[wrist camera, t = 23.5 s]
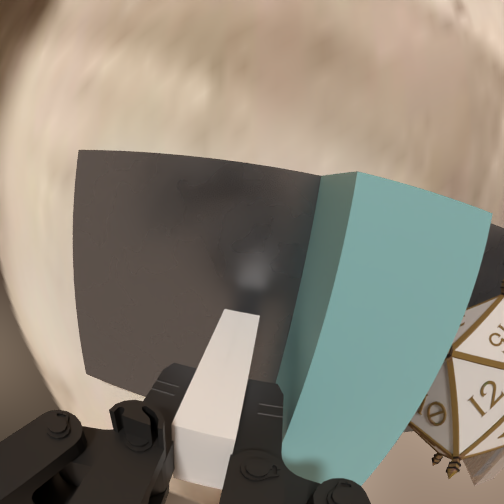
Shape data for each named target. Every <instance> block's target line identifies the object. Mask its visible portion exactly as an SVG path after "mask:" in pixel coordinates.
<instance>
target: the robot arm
mask: <svg viewBox="0 0 504 504" xmlns="http://www.w3.org/2000/svg"><path fill="white" fill-rule="evenodd" d="M259 318H260V316H259V315H253V314H248V313H243V312H238V311H233V310H228V309H224V311H223V313H222V316H221V318H220V320H219V322H218V324H217V326H216V329H215V331H214V333H213V335H212V337H211V339H210V342H209V344H208V346H207V348H206V350H205V353H204V355H203V357H202V359H201V361H200V363H199V366H198V368H193V367H189V366H185V365H181V364H177V363H173V364H171V365H169V366H168V367H166V368H165V369H163V370H162V372H161V374H160V375H159V377H158V378H157V381H156V382H155V383H154V385H153V386H152V389H151V390H150V391H149V393H148V394H147V396H146V398H145V399H144V401H138V400H128V401H123V402H120V403H117V404H115V405H114V406H113V407H112V408H111V409H110V410H109V411H110V416H111V420H112V425H113V430H102V429H96V428H90V427H84V426H82V425H81V422H80V421H79V420H78V419H77V417H76V416H75V415H73V414H71V413H69V412H67V411H62V410H52V411H49V412H46V413H44V414H42V415H41V416H39V417H38V418H36V419H35V420H33V421H32V422H30V423H29V424H27V425H26V426H24V427H23V428H21V429H20V430H18V431H16V432H15V433H13V434H12V435H10V436H9V437H7V438H6V439H4V440H3V441H1V442H0V504H165V501H166V498H167V496H168V493H169V482H170V479H171V476H172V474H174V478H177V479H180V480H184V481H188V482H191V483H195V484H199V485H203V486H208V487H212V488H217V489H222V493H221V498H220V502H219V504H371V503H370V501H369V499H368V497H367V494H366V492H365V491H364V490H363V488H362V487H361V486H360V485H359V484H357V483H356V482H354V481H352V480H349V479H345V478H332V479H329V480H327V481H324V482H323V483H321V484H320V483H317V482H314V481H311V480H308V479H305V478H302V477H300V476H297V475H295V474H294V473H293V472H291V471H290V470H289V469H288V468H287V467H286V465H285V464H284V462H283V459H282V453H281V452H282V429H283V400H284V395H283V393H282V391H281V389H280V387H279V385H278V384H275V383H269V382H263V381H258V380H252V379H248V376H249V371H250V366H251V360H252V355H253V350H254V345H255V339H256V334H257V329H258V323H259Z"/></svg>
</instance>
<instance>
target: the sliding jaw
mask: <svg viewBox="0 0 504 504" xmlns="http://www.w3.org/2000/svg"><path fill="white" fill-rule="evenodd" d="M491 219H492V213H490V212H487V211H484V210H482V209H479V208H477V207H474V206H471V205H468V204H466V203H463V202H460V201H457V200H454V199H451V198H448V197H445V196H442V195H439V194H436V193H433V192H430V191H427V190H424V189H420V188H417V187H414V186H410V185H407V184H403V183H400V182H396V181H393V180H389V179H385V178H381V177H377V176H374V175H370V174H366V173H361V172H349V173H341V174H333V175H325V176H321V181H320V187H319V192H318V198H317V204H316V209H315V214H314V220H313V225H312V230H311V235H310V240H309V245H308V250H307V255H306V260H305V264H304V269H303V274H302V278H301V283H300V287H299V292H298V296H297V300H296V305H295V309H294V313H293V317H292V321H291V326H290V330H289V334H288V338H287V342H286V346H285V350H284V353H283V357H282V361H281V365H280V369H279V372H278V376H277V380H276V383H275V384H278V385H279V387H280V389H281V391H282V393H283V395H284V400H283V429H282V452H281V453H282V459H283V462H284V464H285V465H286V467H287V468H288V469H289V470H290V471H291V472H293V473H294V474H295V475H297V476H300V477H302V478H305V479H308V480H311V481H314V482H317V483H320V484H321V483H323V482H324V481H327V480H329V479H332V478H345V479H349V480H352V481H354V482H356V483H357V484H359V485H360V486H361V485H362V484H363V483H364V482H365V481H366V480H367V478H368V477H369V476H370V475H371V474H372V472H373V471H374V470H375V469H376V468H377V466H378V465H379V464H380V462H381V461H382V460H383V459H384V457H385V456H386V455H387V453H388V452H389V451H390V449H391V448H392V447H393V445H394V444H395V443H396V441H397V440H398V438H399V437H400V435H401V434H402V432H403V431H404V430H405V428H406V427H407V425H408V424H409V422H410V421H411V419H412V417H413V416H414V414H415V413H416V411H417V409H418V408H419V406H420V404H421V403H422V401H423V399H424V398H425V396H426V394H427V392H428V391H429V389H430V387H431V385H432V383H433V381H434V380H435V378H436V376H437V374H438V372H439V370H440V368H441V366H442V364H443V362H444V360H445V358H446V356H447V354H448V352H449V349H450V347H451V345H452V343H453V340H454V338H455V336H456V334H457V331H458V329H459V326H460V324H461V321H462V319H463V316H464V314H465V311H466V308H467V306H468V303H469V300H470V297H471V294H472V291H473V288H474V285H475V282H476V279H477V276H478V272H479V269H480V265H481V262H482V258H483V254H484V250H485V246H486V242H487V238H488V233H489V229H490V224H491Z"/></svg>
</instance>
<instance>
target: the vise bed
mask: <svg viewBox="0 0 504 504" xmlns="http://www.w3.org/2000/svg"><path fill="white" fill-rule="evenodd" d="M320 181H321V176H319V175H314V174H308V173H303V172H298V171H292V170H287V169H281V168H275V167H269V166H263V165H256V164H250V163H243V162H235V161H228V160H220V159H212V158H203V157H194V156H184V155H173V154H161V153H147V152H130V151H106V150H79V152H78V160H77V169H76V180H75V193H74V211H73V268H74V286H75V299H76V309H77V318H78V327H79V334H80V341H81V347H82V353H83V359H84V364H85V370H86V374H88V375H90V376H92V377H95V378H97V379H100V380H102V381H105V382H107V383H110V384H112V385H115V386H117V387H120V388H123V389H125V390H128V391H131V392H134V393H137V394H140V395H143V396H147V394H148V393H149V391H150V390H151V389H152V386H153V385H154V383H155V382H156V381H157V378H158V377H159V375H160V374H161V372H162V370H163V369H165V368H166V367H168V366H169V365H171V364H173V363H177V364H181V365H185V366H189V367H193V368H198V366H199V363H200V361H201V359H202V357H203V355H204V353H205V350H206V348H207V346H208V344H209V342H210V339H211V337H212V335H213V333H214V331H215V329H216V326H217V324H218V322H219V320H220V318H221V316H222V313H223V311H224V309H228V310H233V311H238V312H243V313H248V314H253V315H259V316H260V318H259V323H258V329H257V334H256V339H255V345H254V350H253V355H252V360H251V366H250V371H249V376H248V379H252V380H258V381H263V382H269V383H276V380H277V376H278V372H279V369H280V365H281V361H282V357H283V353H284V350H285V346H286V342H287V338H288V334H289V330H290V326H291V321H292V317H293V313H294V309H295V305H296V300H297V296H298V292H299V287H300V283H301V278H302V274H303V269H304V264H305V260H306V255H307V250H308V245H309V240H310V235H311V230H312V225H313V220H314V214H315V209H316V204H317V198H318V192H319V187H320ZM503 279H504V228H501V227H499V226H496V225H494V224H490V229H489V233H488V238H487V242H486V246H485V250H484V254H483V258H482V262H481V265H480V269H479V272H478V276H477V279H476V282H475V285H474V288H473V291H472V294H471V297H470V300H469V303H468V306H467V308H469V307H472V306H474V305H477V304H479V303H482V302H484V301H486V300H489V299H491V298H493V297H496V296H498V295H500V294H501V288H500V286H501V285H502V282H501V281H503ZM467 308H466V309H467ZM408 431H414V430H413V429H412V428H411V427H409V426H408V425H407V427H406V428H405V430H404V431H403V432H408ZM463 462H464V464H465V466H466V468H467V471H468V473H469V475H470V477H471V479H472V482H473V484H474V486H475V485H478V484H480V483H483V482H486V481H488V480H491V479H493V478H494V477H495V476H496V475H497V474H498V473H499V472H500V471H501V470H502V469H503V468H504V447H503V448H500V449H497V450H494V451H491V452H488V453H485V454H481V455H478V456H474V457H471V458H467V459H463Z"/></svg>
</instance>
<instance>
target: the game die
mask: <svg viewBox="0 0 504 504" xmlns="http://www.w3.org/2000/svg"><path fill="white" fill-rule="evenodd" d="M501 282H502V285H501V286H500V288H501V294H500V295H498V296H496V297H493V298H491V299H489V300H486V301H484V302H482V303H479V304H477V305H474V306H472V307H469V308H467V309H466V311H465V314H464V316H463V319H462V321H461V324H460V326H459V329H458V331H457V334H456V336H455V338H454V340H453V343H452V345H451V347H450V349H449V352H448V354H447V356H446V358H445V360H444V362H443V364H442V366H441V368H440V370H439V372H438V374H437V376H436V378H435V380H434V381H433V383H432V385H431V387H430V389H429V391H428V392H427V394H426V396H425V398H424V399H423V401H422V403H421V404H420V406H419V408H418V409H417V411H416V413H415V414H414V416H413V417H412V419H411V421H410V422H409V424H408V426H409V427H411V428H412V429H413V430H414V431H415V432H416V433H417V434H418V435H419V436H420V437H421V438H422V439H423V440H424V441H425V442H426V443H428V444H429V445H430V446H431V447H432V448H433V449H434V450H435V451H436V452H437V454H434V457H433V458H432V462H433V465H435V464H438V463H439V462H440V461H441V459H442V458H443V456H445V457H447V458H450V459H452V461H451V462H449V465H448V467H447V469H446V472H447V474H448V478H449V479H450V478H451V477H452V476H453V475H454V474H455V473H457V472H459V471H460V470H459V467H460V466H461V464H460V460H463V459H467V458H471V457H474V456H478V455H481V454H485V453H488V452H491V451H494V450H497V449H500V448H503V447H504V279H503V281H501ZM442 455H443V456H442Z"/></svg>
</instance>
